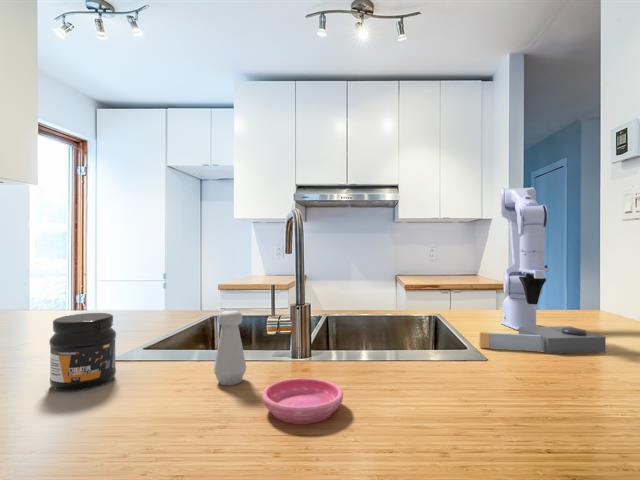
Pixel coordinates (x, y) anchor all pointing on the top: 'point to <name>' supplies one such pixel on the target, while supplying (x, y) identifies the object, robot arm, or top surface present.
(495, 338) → the side door
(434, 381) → the top surface
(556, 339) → the grey flat block
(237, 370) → the salt shaker
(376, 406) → the top surface
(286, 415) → the pink shallow bowl
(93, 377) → the supplement container
